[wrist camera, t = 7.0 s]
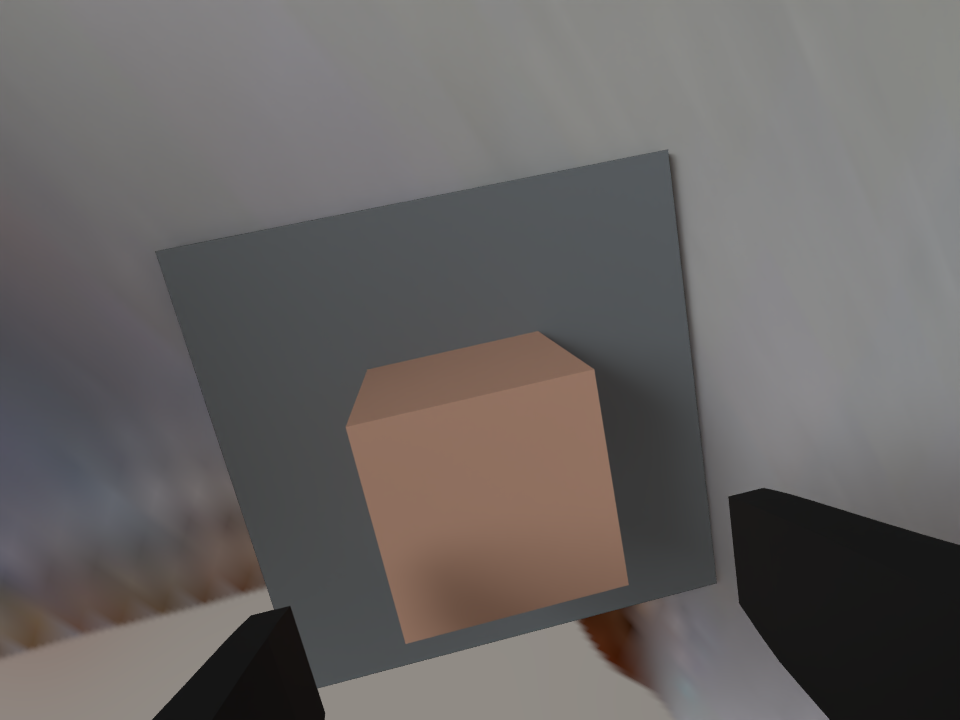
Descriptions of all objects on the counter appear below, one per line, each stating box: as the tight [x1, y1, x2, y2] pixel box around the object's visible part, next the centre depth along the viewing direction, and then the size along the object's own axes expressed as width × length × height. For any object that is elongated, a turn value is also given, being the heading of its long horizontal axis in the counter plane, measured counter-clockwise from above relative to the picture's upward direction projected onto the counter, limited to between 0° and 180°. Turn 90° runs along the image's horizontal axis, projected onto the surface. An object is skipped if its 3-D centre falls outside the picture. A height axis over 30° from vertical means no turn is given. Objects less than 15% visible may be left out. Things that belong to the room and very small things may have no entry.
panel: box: [155, 150, 717, 688], centre depth 16 cm, size 14×14×1 cm
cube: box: [346, 331, 629, 644], centre depth 14 cm, size 5×5×5 cm
